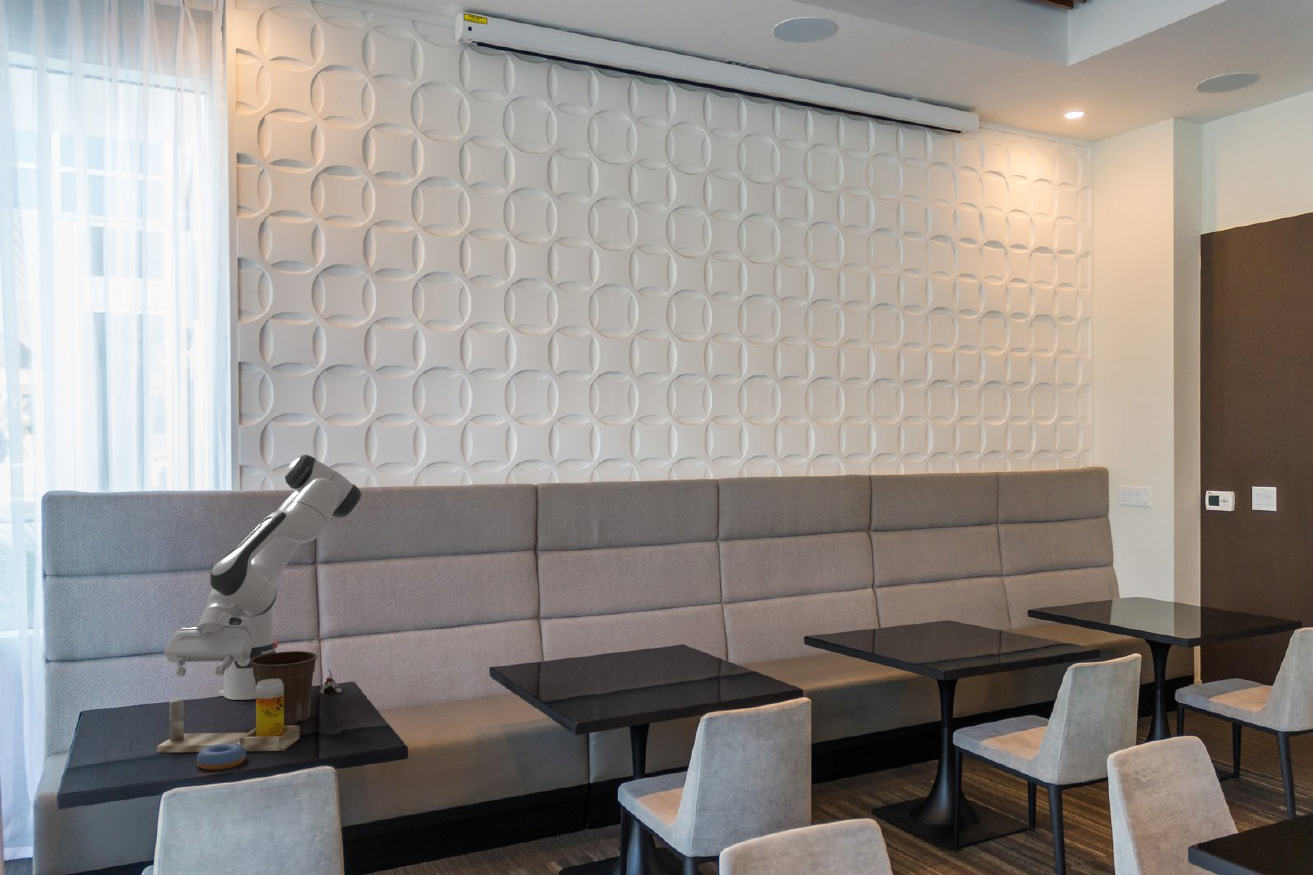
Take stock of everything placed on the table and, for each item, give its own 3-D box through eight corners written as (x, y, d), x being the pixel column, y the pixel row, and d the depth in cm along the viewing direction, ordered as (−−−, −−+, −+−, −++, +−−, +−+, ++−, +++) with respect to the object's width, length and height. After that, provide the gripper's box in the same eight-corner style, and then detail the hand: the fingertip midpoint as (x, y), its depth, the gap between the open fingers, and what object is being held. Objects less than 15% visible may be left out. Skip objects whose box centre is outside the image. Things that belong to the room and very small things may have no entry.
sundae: (331, 727, 245) (330, 667, 246) (351, 730, 242) (350, 669, 243) (311, 734, 240) (310, 672, 240) (331, 737, 237) (330, 675, 237)
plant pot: (319, 724, 248) (319, 660, 249) (250, 732, 243) (249, 666, 243) (316, 709, 264) (315, 648, 264) (251, 716, 258) (250, 654, 258)
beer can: (274, 749, 227) (273, 684, 228) (250, 748, 229) (250, 683, 229) (289, 742, 233) (288, 678, 234) (266, 741, 235) (265, 677, 235)
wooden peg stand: (157, 752, 226) (156, 706, 226) (178, 739, 236) (178, 695, 236) (283, 750, 226) (283, 704, 226) (299, 737, 236) (299, 693, 236)
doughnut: (209, 774, 210) (210, 751, 211) (188, 767, 217) (189, 746, 217) (253, 767, 217) (255, 745, 218) (232, 760, 224) (233, 740, 225)
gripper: (171, 621, 250) (152, 668, 240) (252, 619, 250) (236, 666, 240) (179, 635, 254) (161, 682, 244) (259, 634, 254) (244, 680, 244)
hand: (199, 674), depth 242 cm, fingers open, 8 cm apart
